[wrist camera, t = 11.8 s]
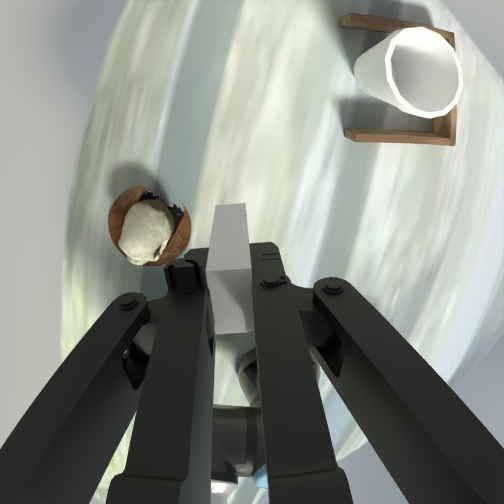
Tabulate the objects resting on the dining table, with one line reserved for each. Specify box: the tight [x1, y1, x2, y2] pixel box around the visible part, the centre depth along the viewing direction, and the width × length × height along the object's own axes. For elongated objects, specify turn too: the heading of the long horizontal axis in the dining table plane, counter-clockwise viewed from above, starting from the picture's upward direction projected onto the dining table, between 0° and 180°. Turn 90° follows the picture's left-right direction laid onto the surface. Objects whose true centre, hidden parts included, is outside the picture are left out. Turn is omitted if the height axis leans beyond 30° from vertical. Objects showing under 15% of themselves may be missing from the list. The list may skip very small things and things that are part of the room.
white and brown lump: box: [109, 185, 191, 266], centre depth 43 cm, size 12×10×10 cm
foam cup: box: [353, 27, 463, 119], centre depth 30 cm, size 10×9×13 cm
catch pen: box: [339, 13, 457, 146], centre depth 34 cm, size 16×15×4 cm
